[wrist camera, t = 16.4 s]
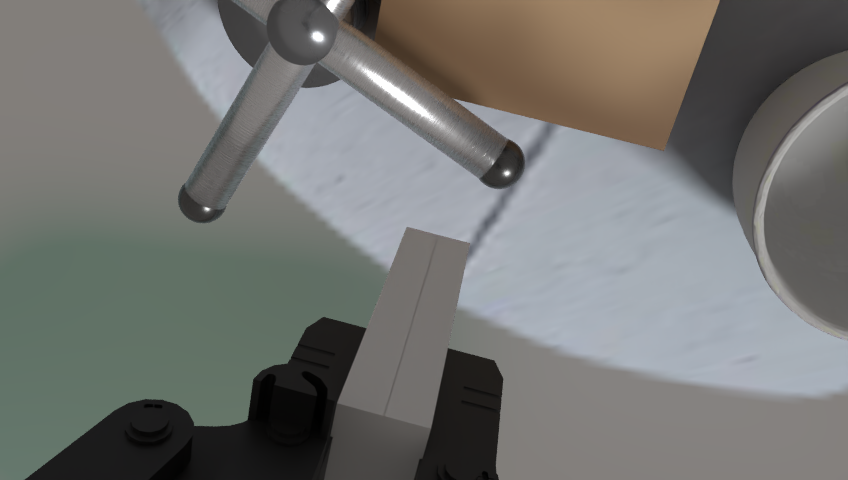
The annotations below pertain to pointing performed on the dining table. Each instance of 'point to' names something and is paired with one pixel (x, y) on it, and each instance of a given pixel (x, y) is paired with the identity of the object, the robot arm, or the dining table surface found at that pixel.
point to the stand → (557, 57)
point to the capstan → (321, 65)
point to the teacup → (800, 192)
